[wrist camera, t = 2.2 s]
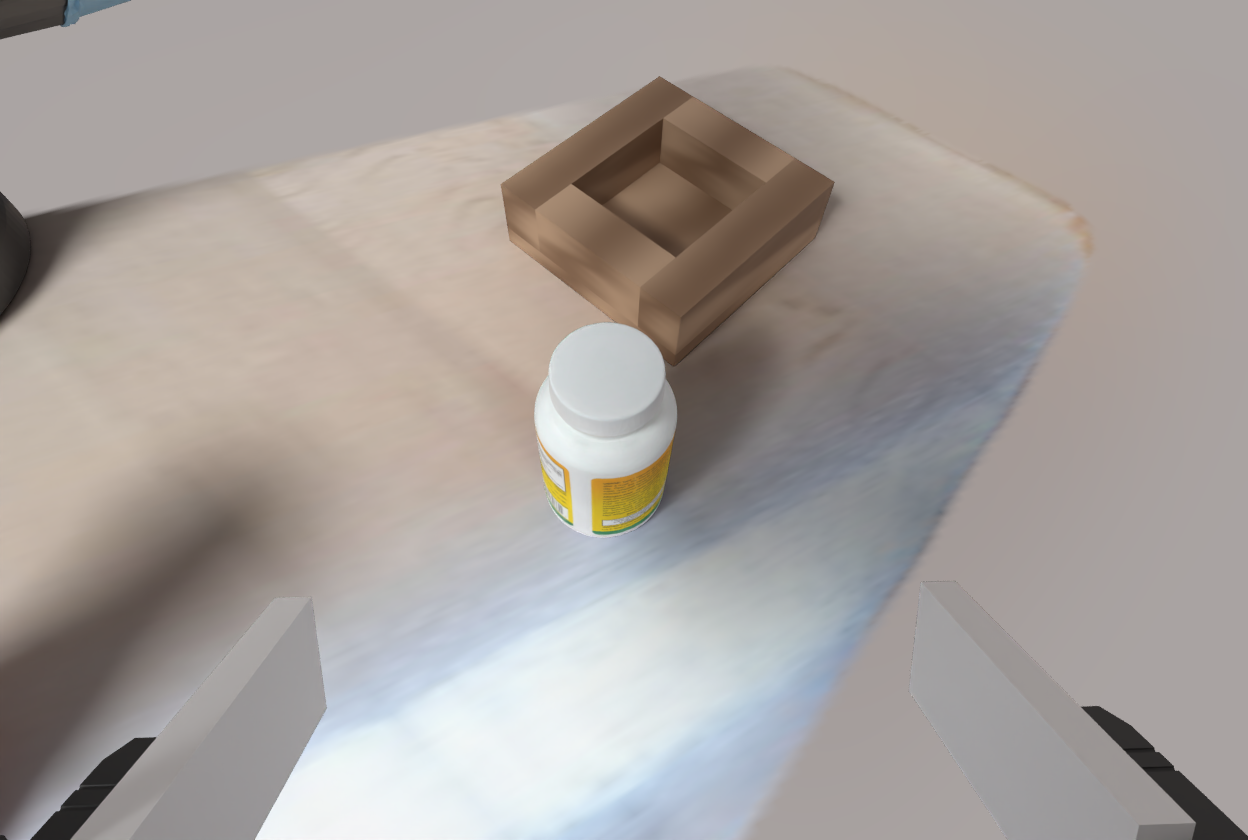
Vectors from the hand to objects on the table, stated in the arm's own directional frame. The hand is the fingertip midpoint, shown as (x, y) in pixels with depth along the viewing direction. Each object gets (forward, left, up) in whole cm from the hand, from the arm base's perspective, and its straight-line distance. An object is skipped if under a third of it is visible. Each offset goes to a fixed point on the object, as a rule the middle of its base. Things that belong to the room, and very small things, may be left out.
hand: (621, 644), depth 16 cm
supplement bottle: (-7, +7, -14) cm, 18 cm away
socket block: (-15, +20, -14) cm, 29 cm away
